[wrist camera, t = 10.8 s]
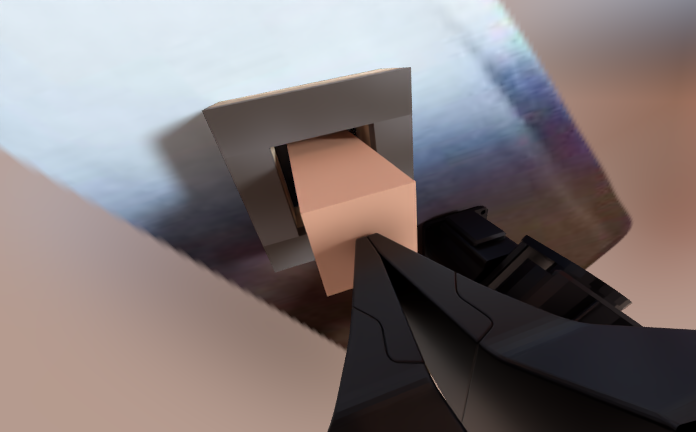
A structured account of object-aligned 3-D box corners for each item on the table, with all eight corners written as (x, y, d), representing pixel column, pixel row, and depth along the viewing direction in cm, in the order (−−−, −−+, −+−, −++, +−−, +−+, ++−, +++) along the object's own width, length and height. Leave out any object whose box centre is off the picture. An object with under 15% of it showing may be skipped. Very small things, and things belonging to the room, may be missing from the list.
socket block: (391, 204, 21) (414, 229, 17) (274, 238, 19) (274, 272, 16) (381, 68, 16) (410, 67, 12) (218, 102, 14) (202, 110, 11)
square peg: (353, 181, 19) (417, 266, 10) (302, 194, 18) (327, 296, 10) (344, 127, 17) (415, 181, 8) (286, 141, 16) (300, 214, 8)
